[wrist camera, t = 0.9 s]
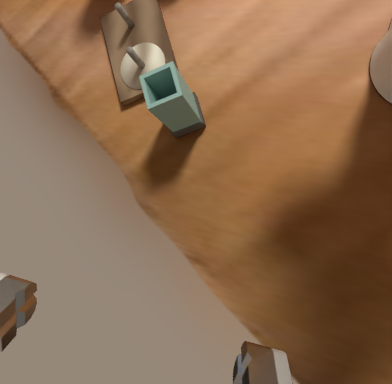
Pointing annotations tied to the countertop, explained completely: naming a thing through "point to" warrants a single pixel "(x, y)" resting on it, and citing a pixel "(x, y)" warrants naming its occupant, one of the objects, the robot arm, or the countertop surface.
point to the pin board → (136, 44)
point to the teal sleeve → (172, 100)
